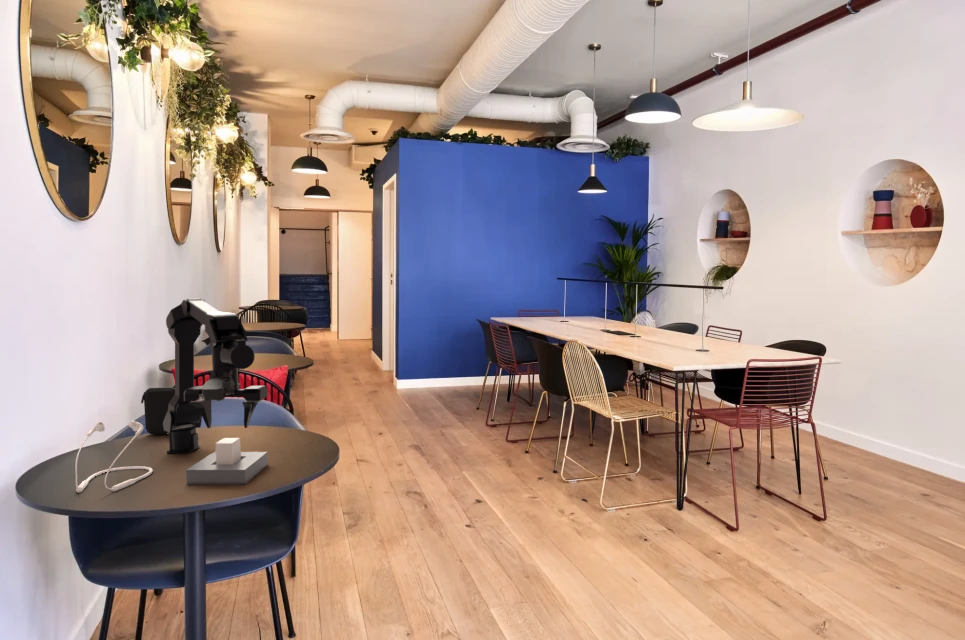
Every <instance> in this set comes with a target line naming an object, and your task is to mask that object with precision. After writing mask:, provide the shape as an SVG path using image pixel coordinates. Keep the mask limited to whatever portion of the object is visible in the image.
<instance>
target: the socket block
mask: <svg viewBox="0 0 965 640" xmlns="http://www.w3.org/2000/svg"><path fill="white" fill-rule="evenodd" d="M267 465H268V466H269V452H268V451H241V461H239V462H238V463H237V464H235V465H216V451H214V452H212V453H210V454H208V455H207V456H205V457H204V458H202V459H200V460H199V461H198V462H196V463H195V464H192V465H191V466H190V467H189V468H187V469H186V470H185V475H186V478H185V479H186V485H246V484H248V483H249V482H250V481H251V480H252V479H254V478H255V477H256V476H257V475H258V474H260V471H261V470H262V469H263V468H264V467H265V466H266V467H268V466H267ZM266 467H265V468H266ZM265 468H264V469H265ZM264 469H263V470H264ZM263 470H262V471H263ZM262 471H261V472H262ZM255 475H256V476H255ZM254 476H255V477H254Z"/></svg>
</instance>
